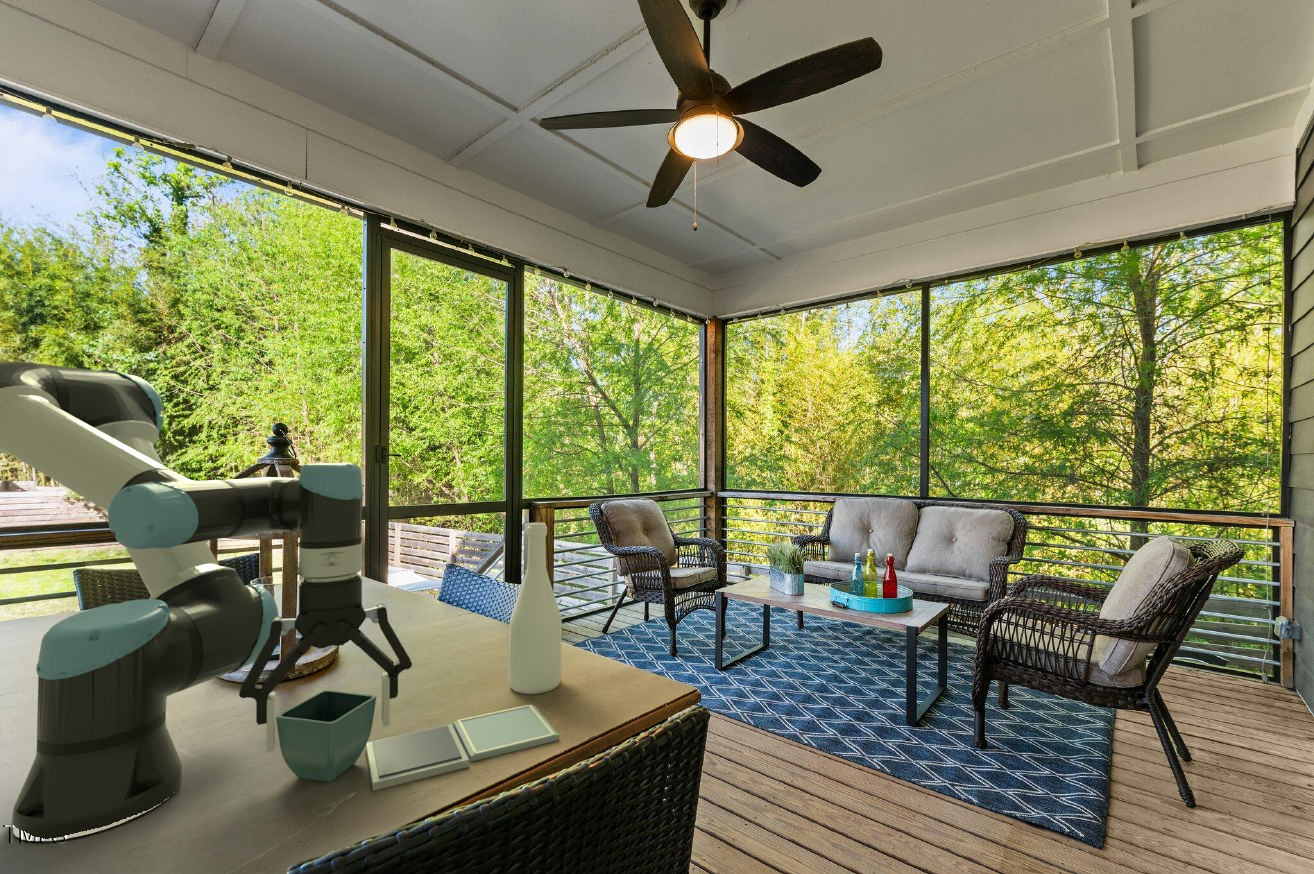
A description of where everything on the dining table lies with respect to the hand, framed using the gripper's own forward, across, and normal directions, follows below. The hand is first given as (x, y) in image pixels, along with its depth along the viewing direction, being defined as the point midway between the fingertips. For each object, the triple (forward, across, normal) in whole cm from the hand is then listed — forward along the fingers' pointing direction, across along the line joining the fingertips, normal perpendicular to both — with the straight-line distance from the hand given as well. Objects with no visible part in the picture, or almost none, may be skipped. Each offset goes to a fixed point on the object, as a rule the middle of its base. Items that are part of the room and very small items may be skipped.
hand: (330, 734), depth 81 cm
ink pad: (+5, +11, -2) cm, 12 cm away
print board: (+5, +24, 0) cm, 24 cm away
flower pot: (+5, 0, 0) cm, 5 cm away
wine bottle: (+6, +34, +15) cm, 37 cm away
